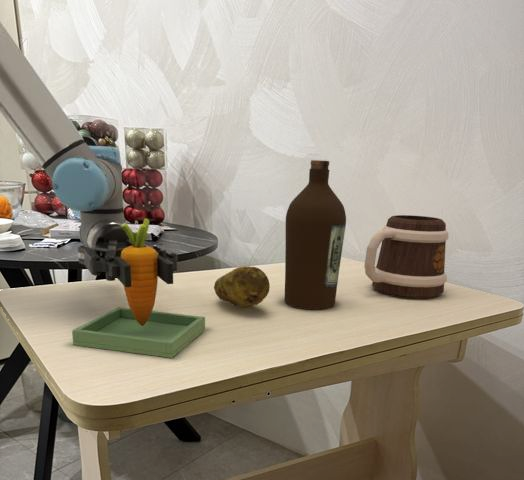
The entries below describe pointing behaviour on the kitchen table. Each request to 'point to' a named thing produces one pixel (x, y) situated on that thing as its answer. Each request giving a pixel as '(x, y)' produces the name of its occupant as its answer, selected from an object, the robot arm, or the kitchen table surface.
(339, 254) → the olive oil
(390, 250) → the mug
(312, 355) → the kitchen table surface
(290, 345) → the kitchen table surface
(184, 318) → the green tray
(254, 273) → the potato
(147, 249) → the carrot
